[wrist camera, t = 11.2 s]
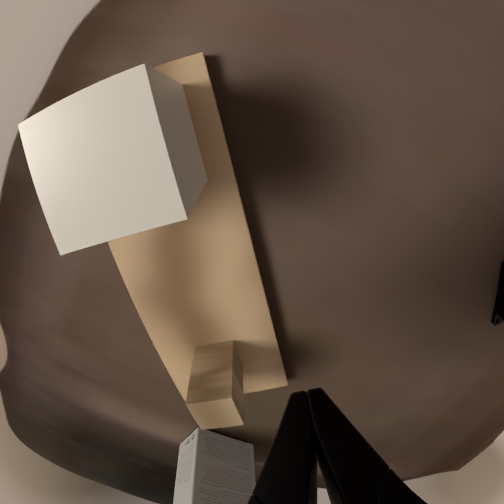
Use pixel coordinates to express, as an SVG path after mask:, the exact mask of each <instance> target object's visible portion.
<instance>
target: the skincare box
mask: <svg viewBox="0 0 504 504" xmlns="http://www.w3.org/2000/svg"><path fill="white" fill-rule="evenodd" d="M254 488H255V466H254V447H253V444H250V443H246V442H243V441H240V440H236V439H233V438H230V437H227V436H224V435H220V434H218V433H215V432H212V431H209V430H206V429H205V430H201V428H200V427H198V428H197V429H196V430H195V431H194V432H193V433H192V434H191V435H190V436H188V437H187V438H186V439H185V440H184V441H183V442H182V443H181V444H180V449H179V457H178V465H177V474H176V483H175V492H174V502H173V504H247V503H248V501H249V499H250V497H251V495H253V494H252V492H253V490H254Z"/></svg>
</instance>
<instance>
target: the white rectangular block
mask: <svg viewBox="0 0 504 504" xmlns="http://www.w3.org/2000/svg"><path fill="white" fill-rule="evenodd" d="M18 127H19V131H20V135H21V140H22V144H23V147H24V151H25V155H26V159H27V162H28V166H29V169H30V172H31V176H32V179H33V182H34V185H35V188H36V192H37V195H38V198H39V200H40V203H41V206H42V209H43V212H44V215H45V217H46V220H47V223H48V225H49V228H50V231H51V233H52V236H53V238H54V241H55V243H56V246H57V248H58V250H59V253H60V255H63V254H66V253H70V252H73V251H76V250H80V249H83V248H86V247H90V246H93V245H96V244H100V243H103V242H107V241H110V240H114V239H117V238H121V237H124V236H128V235H131V234H135V233H138V232H142V231H146V230H149V229H153V228H157V227H160V226H164V225H168V224H172V223H176V222H179V221H183V220H187V219H188V218H189V216H190V214H191V212H192V210H193V208H194V206H195V204H196V202H197V200H198V198H199V196H200V194H201V192H202V191H203V189H204V187H205V185H206V183H207V181H208V179H207V175H206V172H205V168H204V164H203V161H202V157H201V153H200V150H199V146H198V142H197V138H196V135H195V131H194V127H193V123H192V119H191V116H190V112H189V108H188V104H187V100H186V96H185V92H184V89H183V85H182V84H181V83H179V82H177V81H176V80H174V79H172V78H170V77H169V76H167V75H165V74H163V73H161V72H159V71H158V70H156V69H154V68H152V67H150V66H148V65H146V64H142V65H139V66H136V67H134V68H131V69H129V70H126V71H124V72H121V73H119V74H116V75H114V76H111V77H109V78H107V79H104V80H102V81H100V82H98V83H95V84H93V85H91V86H89V87H87V88H85V89H82V90H80V91H78V92H76V93H74V94H72V95H70V96H68V97H66V98H64V99H62V100H60V101H58V102H57V103H55V104H53V105H51V106H49V107H47V108H46V109H44V110H42V111H40V112H38V113H37V114H35V115H33V116H32V117H30V118H28V119H26V120H25V121H23V122H22V123H20V124H19V125H18Z"/></svg>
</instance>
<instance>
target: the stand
mask: <svg viewBox="0 0 504 504" xmlns="http://www.w3.org/2000/svg"><path fill="white" fill-rule="evenodd" d="M153 68H154V69H156V70H158V71H159V72H161V73H163V74H165V75H167V76H169V77H170V78H172V79H174V80H176V81H177V82H179V83H181V84H182V85H183V89H184V92H185V96H186V100H187V104H188V108H189V112H190V116H191V119H192V123H193V127H194V131H195V135H196V138H197V142H198V146H199V150H200V153H201V157H202V161H203V164H204V168H205V172H206V175H207V179H208V181H207V183H206V185H205V187H204V189H203V191H202V192H201V194H200V196H199V198H198V200H197V202H196V204H195V206H194V208H193V210H192V212H191V214H190V216H189V218H188V219H187V220H183V221H179V222H176V223H172V224H168V225H164V226H160V227H157V228H153V229H149V230H146V231H142V232H138V233H135V234H131V235H128V236H124V237H121V238H117V239H114V240H110V241H108V244H109V246H110V249H111V251H112V254H113V256H114V259H115V261H116V263H117V266H118V268H119V271H120V273H121V275H122V278H123V280H124V282H125V285H126V287H127V289H128V291H129V294H130V296H131V298H132V300H133V302H134V305H135V307H136V309H137V311H138V313H139V315H140V317H141V319H142V322H143V324H144V326H145V328H146V330H147V332H148V334H149V336H150V338H151V340H152V342H153V344H154V346H155V348H156V350H157V351H158V353H159V355H160V357H161V359H162V361H163V363H164V365H165V367H166V368H167V370H168V372H169V374H170V376H171V378H172V379H173V381H174V383H175V385H176V386H177V388H178V390H179V392H180V393H181V395H182V397H183V399H184V400H185V401H186V406H187V407H188V409H189V411H190V412H191V414H192V416H193V417H194V419H195V420H196V422H197V424H198V425H199V427H200V428H201V430H205V429H214V428H223V427H231V426H239V425H244V402H243V394H244V393H250V392H256V391H262V390H267V389H272V388H277V387H282V386H287V385H288V383H287V377H286V373H285V369H284V365H283V361H282V357H281V353H280V349H279V346H278V342H277V338H276V334H275V330H274V326H273V322H272V318H271V314H270V310H269V306H268V302H267V298H266V294H265V290H264V286H263V282H262V278H261V275H260V271H259V267H258V263H257V259H256V255H255V251H254V247H253V243H252V239H251V235H250V231H249V227H248V224H247V220H246V216H245V212H244V208H243V204H242V200H241V196H240V192H239V188H238V184H237V181H236V177H235V173H234V169H233V165H232V161H231V157H230V153H229V149H228V145H227V142H226V138H225V134H224V130H223V126H222V122H221V118H220V114H219V111H218V107H217V103H216V99H215V95H214V91H213V87H212V83H211V80H210V76H209V72H208V68H207V64H206V60H205V56H204V54H203V52H201V53H198V54H194V55H191V56H187V57H184V58H181V59H177V60H174V61H171V62H168V63H165V64H162V65H159V66H156V67H153Z"/></svg>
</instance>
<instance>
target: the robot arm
mask: <svg viewBox="0 0 504 504" xmlns="http://www.w3.org/2000/svg"><path fill="white" fill-rule="evenodd" d="M491 322H492V323H493V325H495V326H496V325H498V324H500V323H502V322H504V261H503V263H502V266H501V272H500V279H499V285H498V291H497V296H496V302H495V307H494V311H493V316H492V321H491ZM306 393H307V394H306ZM315 448H316V449H315ZM316 454H317V457H316ZM317 459H318V463H319V466H320V470H321V473H322V476H323V479H324V482H325V486H326V489H327V492H328V495H329V498H330V501H331V504H427V503H426V502H424V501H423V500H422V499H421V498H420V497H419V496H417V495H416V494H415V493H414V492H413V491H412V490H410V488H409V487H408V486H407V485H406V484H405V483H404V482H403V481H402V480H401V479H400V478H399V477H398V476H397V475H396V474H395V473H394V471H393V470H392V469H389V466H388V465H387V464H386V463H385V461H384V460H383V459H382V458H381V457H380V456H379V455H378V454H377V452H376V451H375V450H374V449H373V448H372V447H371V445H370V444H369V443H368V442H367V441H366V440H365V439H364V437H363V436H362V435H361V434H360V433H359V432H358V430H357V429H356V428H355V427H354V426H353V425H352V423H351V422H350V421H349V420H348V419H347V418H346V416H345V415H344V414H343V413H342V412H341V411H340V409H339V408H338V407H337V406H336V405H335V403H334V402H333V401H332V400H331V399H330V398H329V396H328V395H327V394H326V393H325V392H324V390H323V389H322V388H315V389H310V390H307V392H305V391H299V392H294V393H291V395H290V397H289V400H288V403H287V405H286V408H285V411H284V414H283V417H282V419H281V422H280V425H279V427H278V430H277V433H276V435H275V438H274V441H273V443H272V446H271V448H270V451H269V453H268V456H267V459H266V461H265V463H264V466H263V468H262V471H261V473H260V476H259V478H258V481H257V483H256V485H255V488H254V490H253V492H252V494H253V495H251V497H250V499H249V501H248V503H247V504H317Z"/></svg>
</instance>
